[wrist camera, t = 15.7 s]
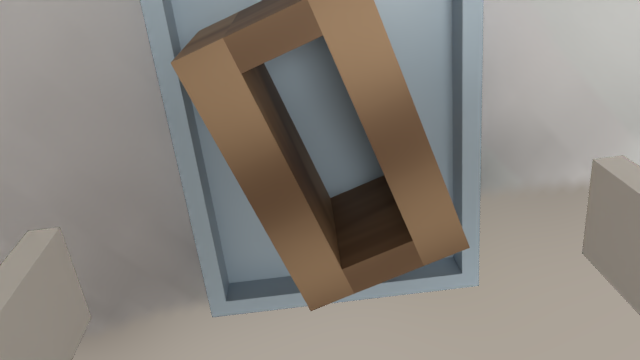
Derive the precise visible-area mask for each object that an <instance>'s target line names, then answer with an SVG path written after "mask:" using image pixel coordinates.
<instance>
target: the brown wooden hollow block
mask: <svg viewBox="0 0 640 360" xmlns="http://www.w3.org/2000/svg"><path fill="white" fill-rule="evenodd" d="M321 36H324V39H325V41H326V43H327V45H328V48H329V50H330V52H331V55H332V57H333V59H334V61H335V64H336V66H337V68H338V71H339V73H340V75H341V77H342V80H343V82H344V84H345V87H346V89H347V91H348V93H349V96H350V98H351V100H352V103H353V105H354V107H355V109H356V112H357V114H358V116H359V119H360V121H361V123H362V125H363V128H364V130H365V132H366V135H367V137H368V139H369V141H370V144H371V146H372V148H373V151H374V153H375V155H376V157H377V160H378V162H379V164H380V167H381V169H382V171H383V173H384V176H381V177H379V178H376V179H374V180H372V181H369V182H367V183H365V184H362V185H360V186H358V187H355V188H353V189H351V190H348V191H346V192H343V193H341V194H339V195H336V196H334V197H332V198H330V196H329V194H328V192H327V190H326V188H325V186H324V184H323V182H322V180H321V178H320V176H319V174H318V172H317V170H316V168H315V166H314V164H313V162H312V159H311V157H310V155H309V153H308V151H307V149H306V147H305V145H304V143H303V141H302V139H301V137H300V135H299V133H298V131H297V129H296V127H295V125H294V123H293V121H292V119H291V117H290V115H289V113H288V111H287V109H286V107H285V105H284V103H283V101H282V99H281V97H280V95H279V93H278V90H277V88H276V86H275V84H274V82H273V80H272V78H271V76H270V74H269V72H268V70H267V68H266V66H265V64H264V63H265V62H267V61H269V60H272V59H274V58H276V57H278V56H280V55H282V54H285V53H287V52H289V51H291V50H293V49H295V48H297V47H300V46H302V45H304V44H306V43H308V42H310V41H313V40H315V39H317V38H319V37H321ZM171 65H172V67H173V68H174V70H175V72H176V74H177V75H178V77H179V79H180V81H181V82H182V84H183V86H184V88H185V90H186V91H187V93H188V95H189V97H190V98H191V100H192V102H193V104H194V105H195V107H196V109H197V111H198V113H199V114H200V116H201V118H202V120H203V121H204V123H205V125H206V127H207V128H208V130H209V132H210V134H211V135H212V137H213V139H214V141H215V143H216V144H217V146H218V148H219V150H220V151H221V153H222V155H223V157H224V158H225V160H226V162H227V164H228V166H229V167H230V169H231V171H232V173H233V174H234V176H235V178H236V180H237V181H238V183H239V185H240V187H241V189H242V190H243V192H244V194H245V196H246V197H247V199H248V201H249V203H250V204H251V206H252V208H253V210H254V212H255V213H256V215H257V217H258V219H259V220H260V222H261V224H262V226H263V227H264V229H265V231H266V233H267V235H268V236H269V238H270V240H271V242H272V243H273V245H274V247H275V249H276V250H277V252H278V254H279V256H280V257H281V259H282V261H283V263H284V265H285V266H286V268H287V270H288V272H289V273H290V275H291V277H292V279H293V280H294V282H295V284H296V286H297V288H298V289H299V291H300V293H301V295H302V296H303V298H304V300H305V302H306V303H307V305H308V307H309V309H310V310H311V311H312V310H315V309H317V308H320V307H322V306H325V305H327V304H330V303H332V302H335V301H337V300H340V299H342V298H345V297H347V296H350V295H352V294H355V293H357V292H360V291H363V290H365V289H368V288H370V287H373V286H375V285H378V284H380V283H383V282H385V281H388V280H390V279H393V278H395V277H398V276H400V275H403V274H405V273H408V272H410V271H413V270H415V269H418V268H420V267H423V266H425V265H428V264H430V263H433V262H435V261H438V260H440V259H443V258H445V257H448V256H450V255H453V254H455V253H458V252H460V251H463V250H465V249H468V248H470V247H469V244H468V241H467V239H466V236H465V234H464V231H463V228H462V226H461V223H460V221H459V218H458V216H457V213H456V210H455V208H454V205H453V203H452V200H451V198H450V195H449V192H448V190H447V187H446V185H445V182H444V180H443V177H442V174H441V172H440V169H439V167H438V164H437V161H436V159H435V156H434V154H433V151H432V149H431V146H430V143H429V141H428V138H427V136H426V133H425V131H424V128H423V125H422V123H421V120H420V118H419V115H418V113H417V110H416V107H415V105H414V102H413V100H412V97H411V95H410V92H409V89H408V87H407V84H406V82H405V79H404V76H403V74H402V71H401V69H400V66H399V64H398V61H397V58H396V56H395V53H394V51H393V48H392V46H391V43H390V40H389V38H388V35H387V33H386V30H385V28H384V25H383V22H382V20H381V17H380V15H379V12H378V9H377V7H376V4H375V2H374V0H262V1H260V2H258V3H256V4H254V5H252V6H250V7H248V8H245V9H243V10H241V11H239V12H237V13H235V14H233V15H231V16H229V17H227V18H225V19H223V20H220V21H218V22H216V23H214V24H212V25H210V26H208V27H206V28H204V29H202V30H200V31H198V32H197V34H196V35H195V36H194V37H193V38H192V39H191V40H190V41H189V43H188V44H187V45H186V46H185V47H184V48H183V49H182V50H181V52H180V53H179V54H178V55H177V56H176V57H175V58H174V59H173V61H172V62H171Z"/></svg>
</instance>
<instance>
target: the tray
mask: <svg viewBox="0 0 640 360" xmlns="http://www.w3.org/2000/svg"><path fill="white" fill-rule="evenodd" d="M260 1H262V0H140V3H141V7H142V11H143V16H144V20H145V25H146V29H147V33H148V38H149V42H150V47H151V51H152V55H153V60H154V64H155V68H156V73H157V77H158V82H159V86H160V90H161V95H162V99H163V103H164V108H165V112H166V117H167V121H168V125H169V130H170V134H171V138H172V143H173V147H174V152H175V156H176V160H177V165H178V169H179V174H180V178H181V182H182V187H183V191H184V195H185V200H186V204H187V209H188V213H189V217H190V222H191V226H192V230H193V235H194V239H195V244H196V248H197V252H198V257H199V261H200V265H201V270H202V274H203V279H204V283H205V287H206V292H207V296H208V301H209V305H210V309H211V314H212V317H219V316H227V315H236V314H244V313H253V312H261V311H269V310H278V309H287V308H295V307H304V306H308V305H307V303H306V302H305V300H304V298H303V296H302V295H301V293H300V291H299V289H298V288H297V286H296V284H295V282H294V280H293V279H292V277H291V275H290V273H289V272H288V270H287V268H286V266H285V265H284V263H283V261H282V259H281V257H280V256H279V254H278V252H277V250H276V249H275V247H274V245H273V243H272V242H271V240H270V238H269V236H268V235H267V233H266V231H265V229H264V227H263V226H262V224H261V222H260V220H259V219H258V217H257V215H256V213H255V212H254V210H253V208H252V206H251V204H250V203H249V201H248V199H247V197H246V196H245V194H244V192H243V190H242V189H241V187H240V185H239V183H238V181H237V180H236V178H235V176H234V174H233V173H232V171H231V169H230V167H229V166H228V164H227V162H226V160H225V158H224V157H223V155H222V153H221V151H220V150H219V148H218V146H217V144H216V143H215V141H214V139H213V137H212V135H211V134H210V132H209V130H208V128H207V127H206V125H205V123H204V121H203V120H202V118H201V116H200V114H199V113H198V111H197V109H196V107H195V105H194V104H193V102H192V100H191V98H190V97H189V95H188V93H187V91H186V90H185V88H184V86H183V84H182V82H181V81H180V79H179V77H178V75H177V74H176V72H175V70H174V68H173V67H172V65H171V62H172V61H173V59H174V58H175V57H176V56H177V55H178V54H179V53H180V52H181V50H182V49H183V48H184V47H185V46H186V45H187V44H188V43H189V41H190V40H191V39H192V38H193V37H194V36H195V35H196V34H197V32H198V31H200V30H202V29H204V28H206V27H208V26H210V25H212V24H214V23H216V22H218V21H220V20H223V19H225V18H227V17H229V16H231V15H233V14H235V13H237V12H239V11H241V10H243V9H245V8H248V7H250V6H252V5H254V4H256V3H258V2H260ZM374 2H375V4H376V7H377V9H378V12H379V15H380V17H381V20H382V22H383V25H384V28H385V30H386V33H387V35H388V38H389V40H390V43H391V46H392V48H393V51H394V53H395V56H396V58H397V61H398V64H399V66H400V69H401V71H402V74H403V76H404V79H405V82H406V84H407V87H408V89H409V92H410V95H411V97H412V100H413V102H414V105H415V107H416V110H417V113H418V115H419V118H420V120H421V123H422V125H423V128H424V131H425V133H426V136H427V138H428V141H429V143H430V146H431V149H432V151H433V154H434V156H435V159H436V161H437V164H438V167H439V169H440V172H441V174H442V177H443V180H444V182H445V185H446V187H447V190H448V192H449V195H450V198H451V200H452V203H453V205H454V208H455V210H456V213H457V216H458V218H459V221H460V223H461V226H462V228H463V231H464V234H465V236H466V239H467V241H468V244H469V247H470V248H468V249H465V250H463V251H460V252H458V253H455V254H453V255H450V256H448V257H445V258H443V259H440V260H438V261H435V262H433V263H430V264H428V265H425V266H423V267H420V268H418V269H415V270H413V271H410V272H408V273H405V274H403V275H400V276H398V277H395V278H393V279H390V280H388V281H385V282H383V283H380V284H378V285H375V286H373V287H370V288H368V289H365V290H363V291H360V292H357V293H355V294H352V295H350V296H347V297H345V298H342V299H340V300H337V301H335V302H332V303H338V302H346V301H354V300H362V299H371V298H380V297H388V296H397V295H405V294H413V293H422V292H431V291H439V290H447V289H456V288H463V287H473V286H479V241H480V233H479V232H480V180H481V120H482V59H483V0H374ZM264 64H265V66H266V68H267V70H268V72H269V74H270V76H271V78H272V80H273V82H274V84H275V86H276V88H277V90H278V93H279V95H280V97H281V99H282V101H283V103H284V105H285V107H286V109H287V111H288V113H289V115H290V117H291V119H292V121H293V123H294V125H295V127H296V129H297V131H298V133H299V135H300V137H301V139H302V141H303V143H304V145H305V147H306V149H307V151H308V153H309V155H310V157H311V159H312V162H313V164H314V166H315V168H316V170H317V172H318V174H319V176H320V178H321V180H322V182H323V184H324V186H325V188H326V190H327V192H328V194H329V196H330V198H332V197H334V196H336V195H339V194H341V193H343V192H346V191H348V190H351V189H353V188H355V187H358V186H360V185H362V184H365V183H367V182H369V181H372V180H374V179H376V178H379V177H381V176H384V173H383V171H382V169H381V167H380V164H379V162H378V160H377V157H376V155H375V153H374V151H373V148H372V146H371V144H370V141H369V139H368V137H367V135H366V132H365V130H364V128H363V125H362V123H361V121H360V119H359V116H358V114H357V112H356V109H355V107H354V105H353V103H352V100H351V98H350V96H349V93H348V91H347V89H346V87H345V84H344V82H343V80H342V77H341V75H340V73H339V71H338V68H337V66H336V64H335V61H334V59H333V57H332V55H331V52H330V50H329V48H328V45H327V43H326V41H325V39H324V36H321V37H319V38H317V39H315V40H313V41H310V42H308V43H306V44H304V45H302V46H300V47H297V48H295V49H293V50H291V51H289V52H287V53H285V54H282V55H280V56H278V57H276V58H274V59H272V60H269V61H267V62H265V63H264Z"/></svg>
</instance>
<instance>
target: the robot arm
mask: <svg viewBox="0 0 640 360" xmlns="http://www.w3.org/2000/svg"><path fill="white" fill-rule="evenodd" d="M582 254H583V255H584V256H585V257H586V258H587V259H588V260H589V261H590V262H591V264H592V265H593V266H594V267H595V268H596V269H597V270H598V271H599V272H600V273H601V274H602V275H603V276H604V277H605V279H606V280H607V281H608V282H609V283H610V284H611V285H612V286H613V287H614V288H615V289H616V290H617V291H618V292H619V293H620V294H621V296H622V297H623V298H624V299H625V300H626V301H627V302H628V303H629V304H630V305H631V306H632V307H633V309H634V310H635V311H636V312H637V313H638V314H639V315H640V166H638V165H637V164H635V163H634V162H632V161H631V160H629V159H628V158H626V157H625V156H623V155H622V156H614V157H607V158H599V159H593V162H592V171H591V179H590V188H589V197H588V206H587V214H586V223H585V232H584V240H583V249H582ZM90 320H91V315H90V312H89V309H88V307H87V304H86V301H85V298H84V295H83V292H82V289H81V286H80V284H79V281H78V278H77V275H76V272H75V269H74V266H73V264H72V261H71V258H70V255H69V252H68V249H67V246H66V244H65V241H64V238H63V235H62V232H61V229H60V227H55V228H48V229H40V230H32V231H27V233H26V234H25V235H24V236H23V238H22V239H21V240H20V241H19V243H18V244H17V245H16V246H15V248H14V249H13V250H12V251H11V253H10V254H9V255H8V256H7V258H6V259H5V260H4V261H3V263H2V264H1V265H0V360H72V359H73V357H74V355H75V352H76V350H77V348H78V346H79V344H80V341H81V339H82V337H83V335H84V333H85V331H86V328H87V326H88V324H89V322H90Z"/></svg>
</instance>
